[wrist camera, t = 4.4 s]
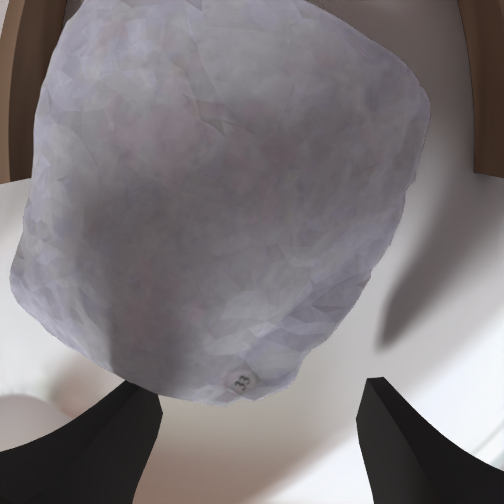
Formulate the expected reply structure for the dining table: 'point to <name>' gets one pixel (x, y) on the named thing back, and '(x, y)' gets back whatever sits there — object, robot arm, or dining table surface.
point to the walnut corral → (49, 30)
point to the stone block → (212, 188)
